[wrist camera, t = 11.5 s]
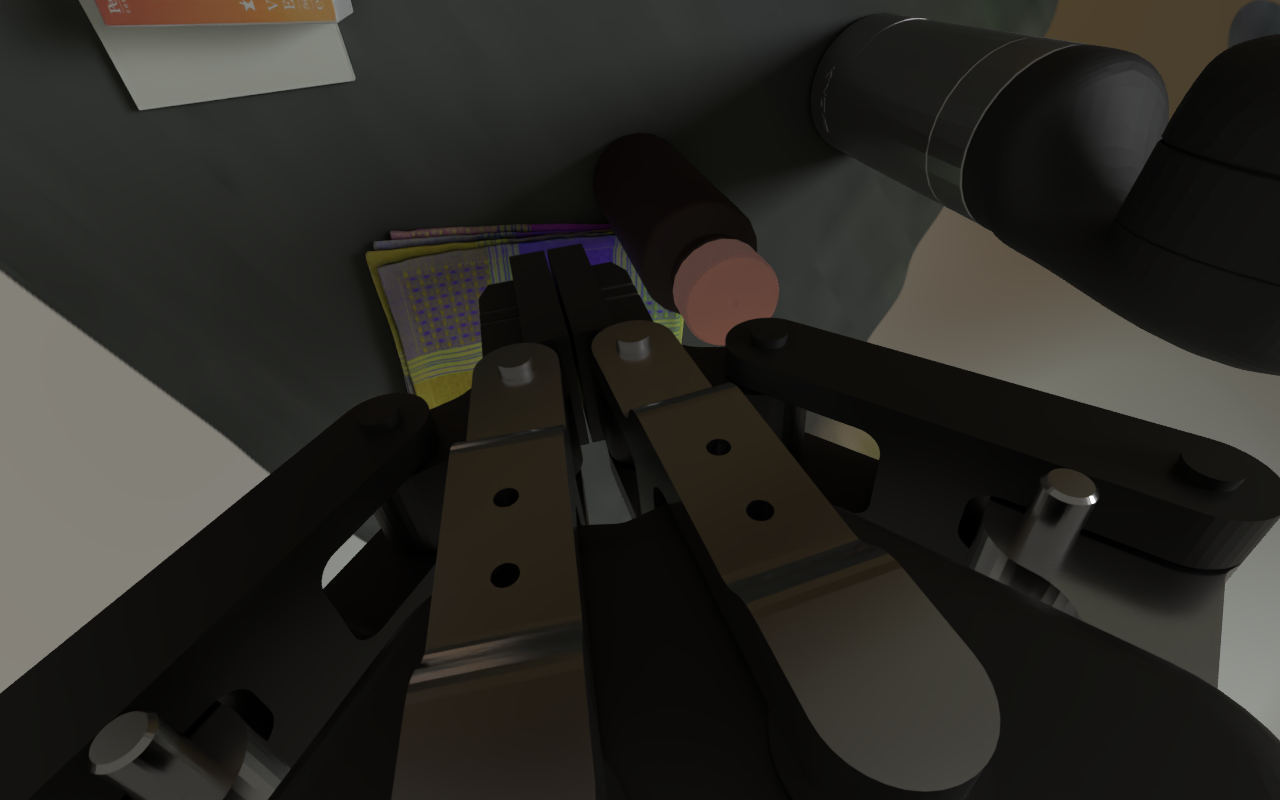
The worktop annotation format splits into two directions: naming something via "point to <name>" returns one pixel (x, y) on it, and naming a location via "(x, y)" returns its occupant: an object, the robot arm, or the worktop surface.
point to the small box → (220, 12)
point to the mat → (221, 59)
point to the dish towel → (469, 292)
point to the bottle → (684, 237)
